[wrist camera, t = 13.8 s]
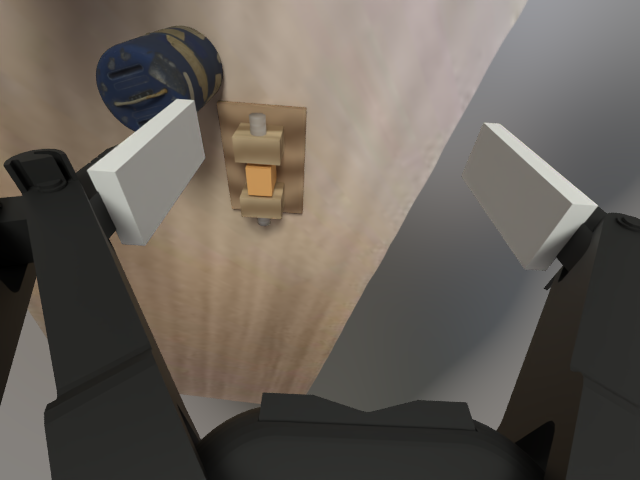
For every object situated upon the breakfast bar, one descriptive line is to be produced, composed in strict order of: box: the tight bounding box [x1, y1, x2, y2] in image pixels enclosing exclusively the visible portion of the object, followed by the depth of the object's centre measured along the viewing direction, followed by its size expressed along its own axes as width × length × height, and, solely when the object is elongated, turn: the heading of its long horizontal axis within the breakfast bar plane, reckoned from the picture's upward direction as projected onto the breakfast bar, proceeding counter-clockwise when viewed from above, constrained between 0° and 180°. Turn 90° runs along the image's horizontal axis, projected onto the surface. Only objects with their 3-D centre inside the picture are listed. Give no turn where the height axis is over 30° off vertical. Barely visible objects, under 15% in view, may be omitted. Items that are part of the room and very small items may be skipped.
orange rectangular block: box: [245, 163, 277, 196], centre depth 52 cm, size 5×4×6 cm
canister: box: [96, 26, 223, 132], centre depth 38 cm, size 10×10×18 cm
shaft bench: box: [217, 101, 307, 226], centre depth 52 cm, size 20×14×7 cm
